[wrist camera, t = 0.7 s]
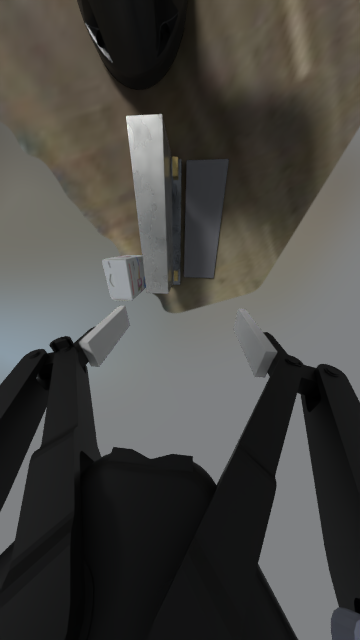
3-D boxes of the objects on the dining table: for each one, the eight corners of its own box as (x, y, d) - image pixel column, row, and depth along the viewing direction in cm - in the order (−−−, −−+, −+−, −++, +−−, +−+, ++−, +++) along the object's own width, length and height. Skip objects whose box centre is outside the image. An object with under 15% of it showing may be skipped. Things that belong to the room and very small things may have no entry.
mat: (186, 161, 26) (186, 160, 26) (228, 160, 26) (228, 158, 25) (183, 276, 37) (183, 277, 37) (213, 277, 37) (213, 277, 36)
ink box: (148, 287, 39) (132, 301, 29) (132, 286, 40) (110, 301, 30) (144, 254, 35) (124, 259, 25) (126, 254, 36) (99, 258, 25)
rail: (145, 153, 21) (126, 116, 15) (171, 152, 20) (162, 114, 14) (155, 283, 31) (146, 292, 24) (173, 283, 30) (168, 293, 24)
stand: (151, 162, 27) (132, 126, 18) (182, 161, 26) (177, 124, 18) (159, 283, 39) (150, 293, 30) (180, 283, 38) (177, 294, 30)
